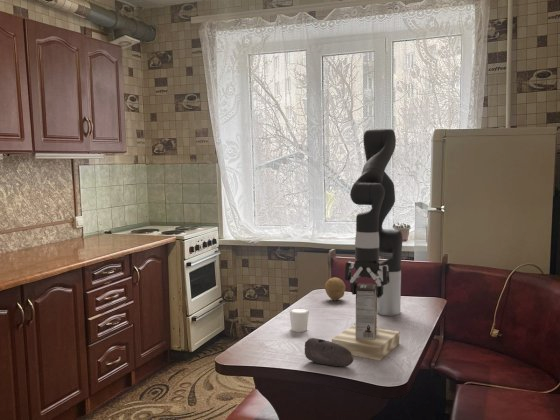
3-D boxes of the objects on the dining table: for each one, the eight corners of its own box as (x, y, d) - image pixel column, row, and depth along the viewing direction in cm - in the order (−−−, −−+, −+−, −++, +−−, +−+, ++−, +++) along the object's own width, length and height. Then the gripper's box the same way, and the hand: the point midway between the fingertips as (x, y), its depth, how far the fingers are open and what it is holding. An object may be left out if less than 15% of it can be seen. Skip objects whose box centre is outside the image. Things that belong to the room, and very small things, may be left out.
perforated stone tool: (356, 366, 163) (356, 343, 162) (349, 372, 158) (349, 348, 158) (311, 357, 171) (311, 335, 170) (303, 362, 166) (303, 339, 166)
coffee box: (357, 330, 184) (357, 282, 183) (377, 331, 183) (377, 283, 181) (355, 338, 175) (355, 288, 174) (375, 340, 174) (376, 289, 172)
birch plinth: (354, 335, 191) (354, 324, 191) (399, 343, 183) (399, 331, 182) (331, 351, 176) (331, 338, 175) (379, 360, 167) (379, 347, 167)
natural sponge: (328, 296, 247) (328, 274, 246) (348, 298, 243) (348, 276, 242) (322, 301, 238) (322, 278, 237) (342, 303, 235) (342, 280, 234)
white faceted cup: (312, 329, 199) (312, 310, 198) (300, 333, 194) (300, 314, 193) (298, 325, 203) (298, 306, 203) (285, 329, 198) (285, 310, 198)
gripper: (392, 245, 176) (392, 295, 177) (351, 242, 183) (350, 290, 185) (384, 248, 169) (383, 301, 171) (341, 245, 177) (341, 295, 178)
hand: (366, 295), depth 178 cm, fingers open, 8 cm apart
